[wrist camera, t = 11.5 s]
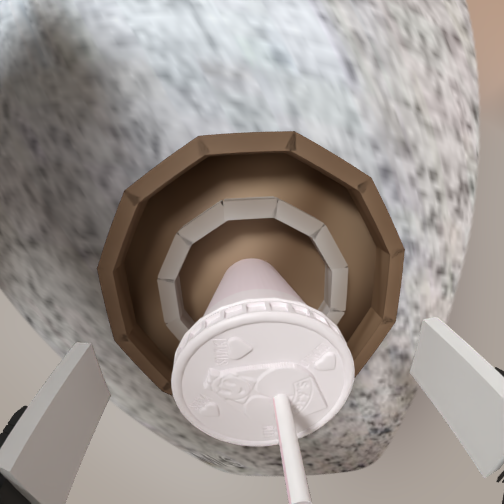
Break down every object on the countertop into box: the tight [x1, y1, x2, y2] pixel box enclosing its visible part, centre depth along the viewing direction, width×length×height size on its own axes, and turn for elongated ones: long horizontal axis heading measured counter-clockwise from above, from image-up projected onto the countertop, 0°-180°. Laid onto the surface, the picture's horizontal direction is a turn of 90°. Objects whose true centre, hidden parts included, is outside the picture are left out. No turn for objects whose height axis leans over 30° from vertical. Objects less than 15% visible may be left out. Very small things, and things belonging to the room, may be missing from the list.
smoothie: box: [171, 258, 355, 504], centre depth 12 cm, size 6×6×14 cm
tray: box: [97, 131, 405, 396], centre depth 18 cm, size 18×18×3 cm
